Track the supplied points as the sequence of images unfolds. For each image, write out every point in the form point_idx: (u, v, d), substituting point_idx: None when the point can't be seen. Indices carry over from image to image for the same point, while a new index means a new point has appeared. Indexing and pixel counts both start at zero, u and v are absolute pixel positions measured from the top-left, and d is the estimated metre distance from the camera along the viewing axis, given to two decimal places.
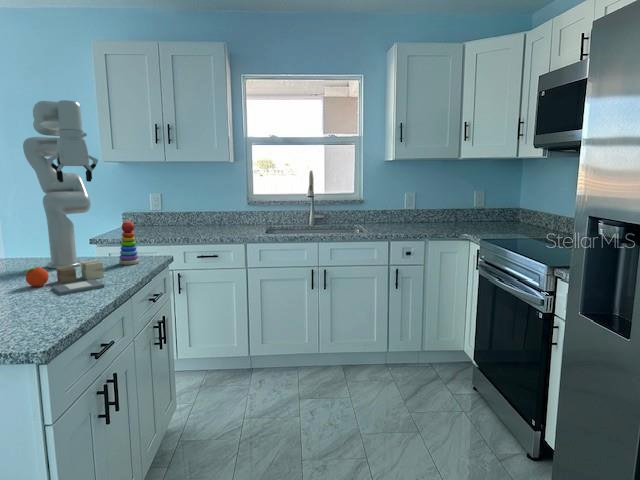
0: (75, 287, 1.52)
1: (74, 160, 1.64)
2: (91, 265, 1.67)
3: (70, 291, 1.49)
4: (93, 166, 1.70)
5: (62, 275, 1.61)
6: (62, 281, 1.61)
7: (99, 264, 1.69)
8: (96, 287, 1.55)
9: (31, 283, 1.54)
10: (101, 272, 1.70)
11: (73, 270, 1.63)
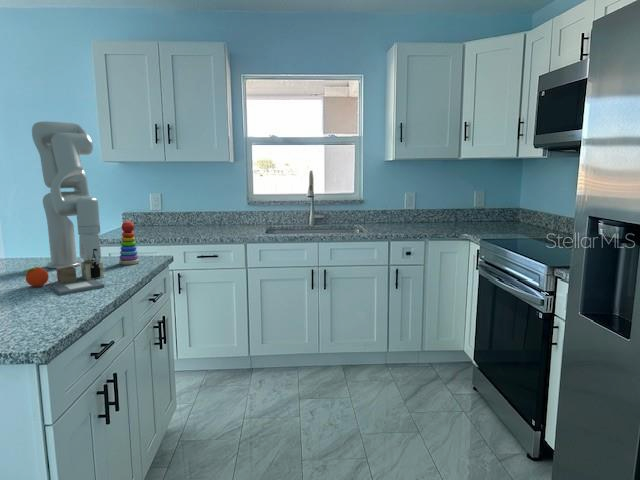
0: (75, 287, 1.52)
1: None
2: None
3: (70, 291, 1.49)
4: None
5: (62, 275, 1.61)
6: (62, 281, 1.61)
7: None
8: (96, 287, 1.55)
9: (31, 283, 1.54)
10: (101, 271, 1.70)
11: (73, 270, 1.63)
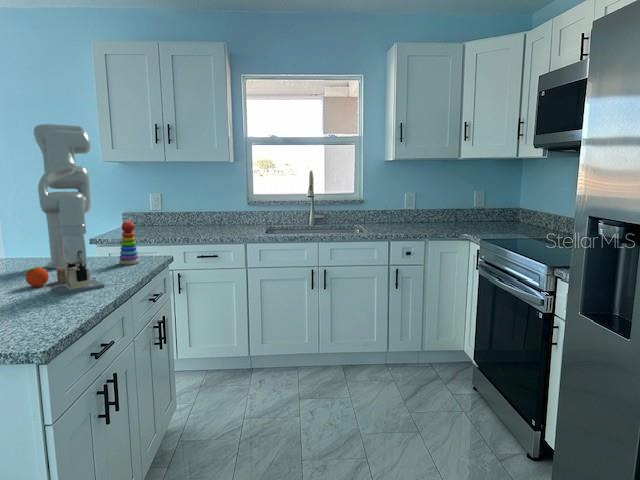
0: None
1: None
2: None
3: (70, 291, 1.49)
4: None
5: (62, 275, 1.61)
6: (62, 281, 1.61)
7: None
8: (96, 287, 1.55)
9: (31, 283, 1.54)
10: (87, 279, 1.54)
11: None
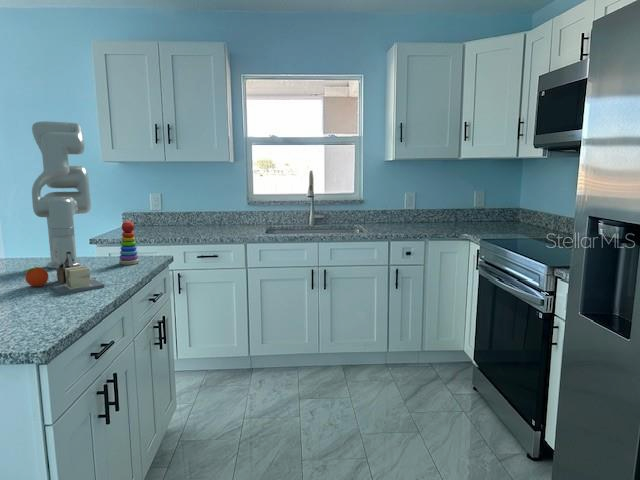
0: None
1: None
2: (76, 272, 1.52)
3: (70, 291, 1.49)
4: None
5: (62, 274, 1.61)
6: (62, 281, 1.61)
7: (85, 270, 1.54)
8: (96, 287, 1.55)
9: (31, 283, 1.54)
10: (87, 279, 1.54)
11: None
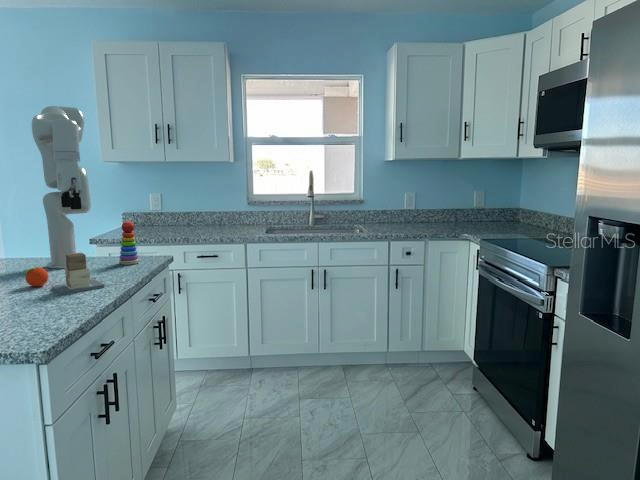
0: None
1: None
2: (76, 272, 1.52)
3: (70, 291, 1.49)
4: None
5: (71, 261, 1.51)
6: (71, 268, 1.51)
7: (85, 270, 1.54)
8: (96, 287, 1.55)
9: (31, 283, 1.54)
10: (87, 279, 1.54)
11: (83, 256, 1.53)
